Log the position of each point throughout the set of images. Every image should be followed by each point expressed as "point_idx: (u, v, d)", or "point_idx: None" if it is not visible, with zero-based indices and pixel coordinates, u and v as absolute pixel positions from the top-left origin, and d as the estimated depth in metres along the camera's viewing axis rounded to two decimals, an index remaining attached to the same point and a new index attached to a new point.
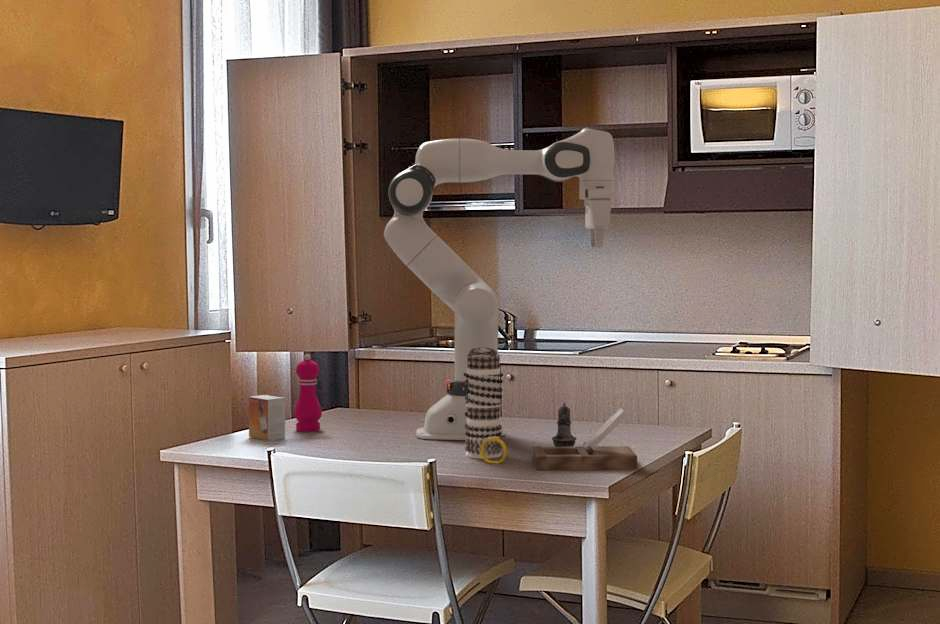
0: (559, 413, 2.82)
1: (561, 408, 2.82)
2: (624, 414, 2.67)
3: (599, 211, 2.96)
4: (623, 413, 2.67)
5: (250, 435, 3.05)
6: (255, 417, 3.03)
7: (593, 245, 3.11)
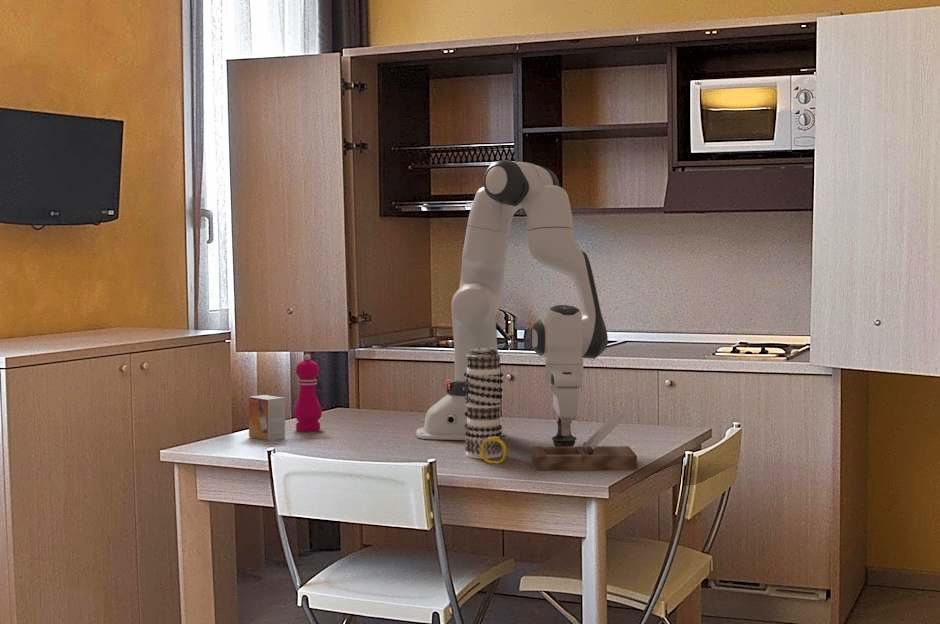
0: None
1: None
2: (624, 414, 2.67)
3: (566, 401, 2.73)
4: (623, 413, 2.67)
5: (250, 435, 3.05)
6: (255, 417, 3.03)
7: None
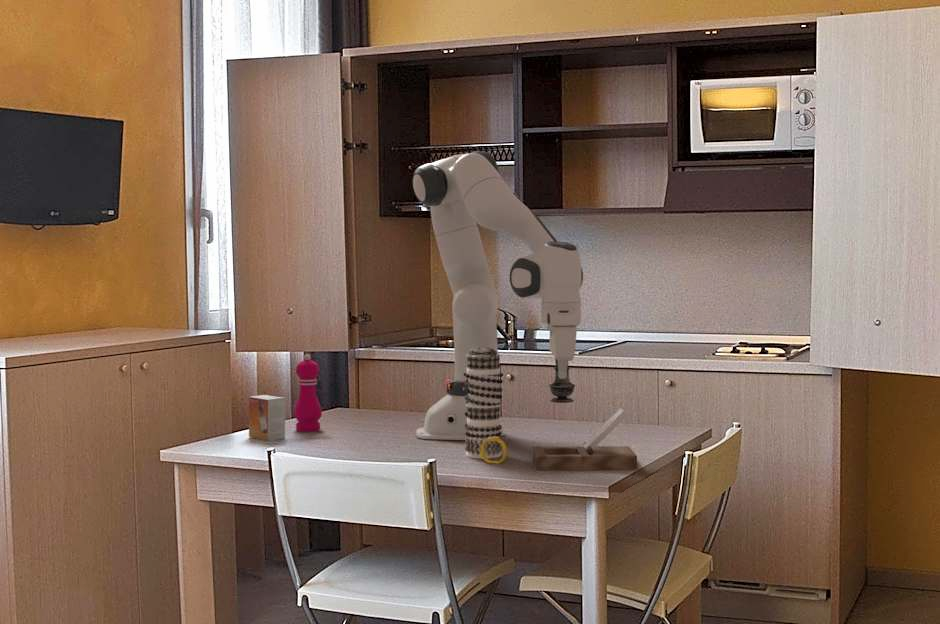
0: None
1: None
2: (624, 414, 2.67)
3: (563, 340, 2.58)
4: (623, 413, 2.67)
5: (250, 435, 3.05)
6: (255, 417, 3.03)
7: None
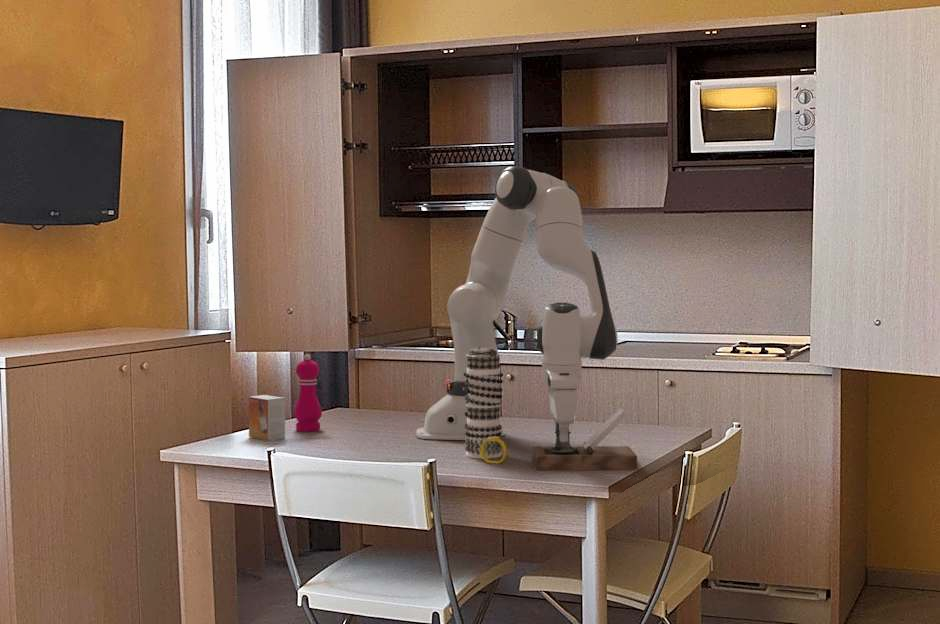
0: (557, 423, 2.67)
1: None
2: (624, 414, 2.67)
3: (563, 404, 2.59)
4: (623, 413, 2.67)
5: (250, 435, 3.05)
6: (255, 417, 3.03)
7: None
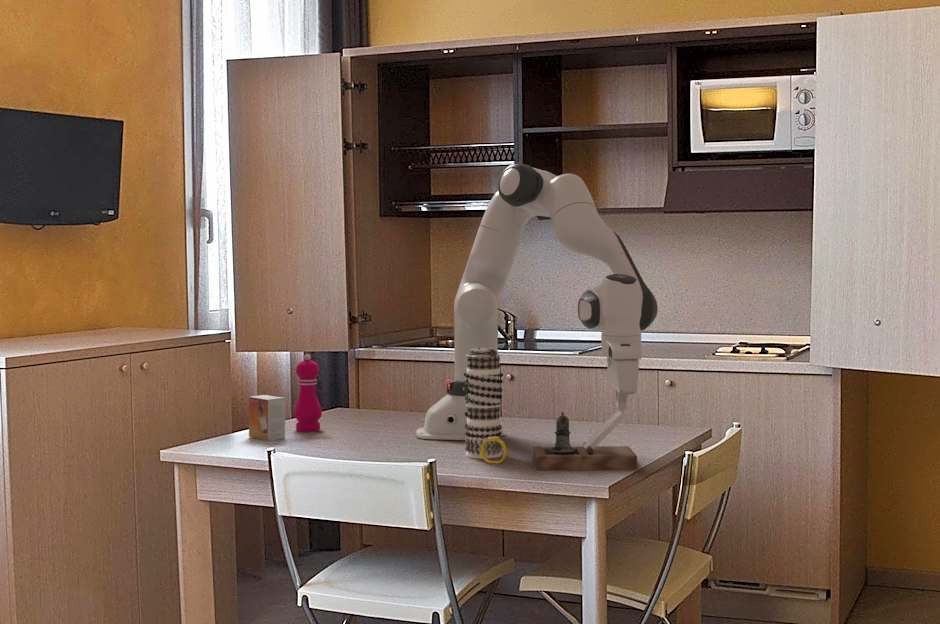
0: (557, 423, 2.68)
1: (559, 418, 2.67)
2: (624, 414, 2.67)
3: (626, 374, 2.59)
4: (623, 413, 2.67)
5: (250, 435, 3.05)
6: (255, 417, 3.03)
7: None
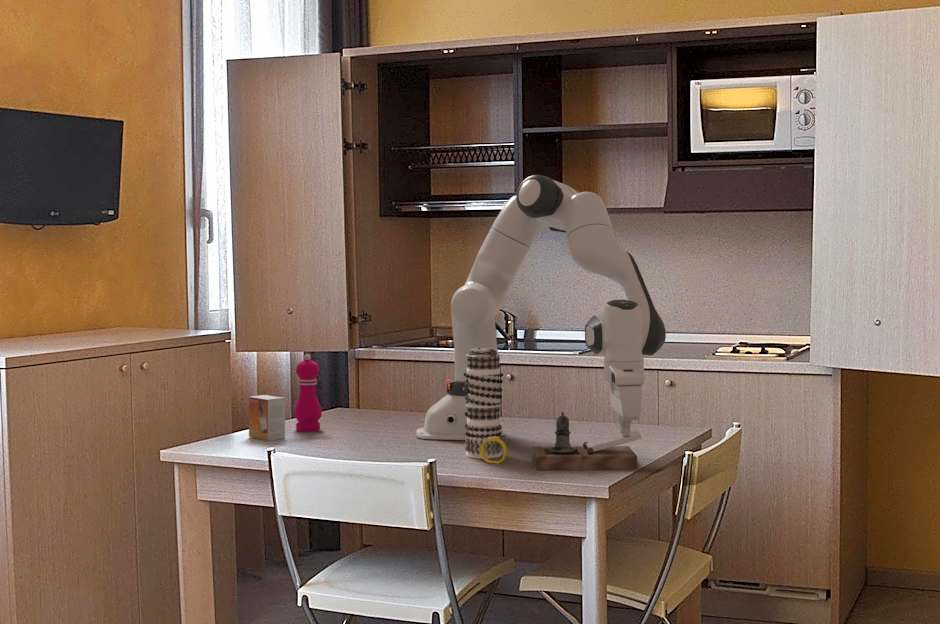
0: (557, 423, 2.68)
1: (559, 418, 2.67)
2: (639, 436, 2.67)
3: (629, 400, 2.59)
4: (638, 435, 2.67)
5: (250, 435, 3.05)
6: (255, 417, 3.03)
7: None
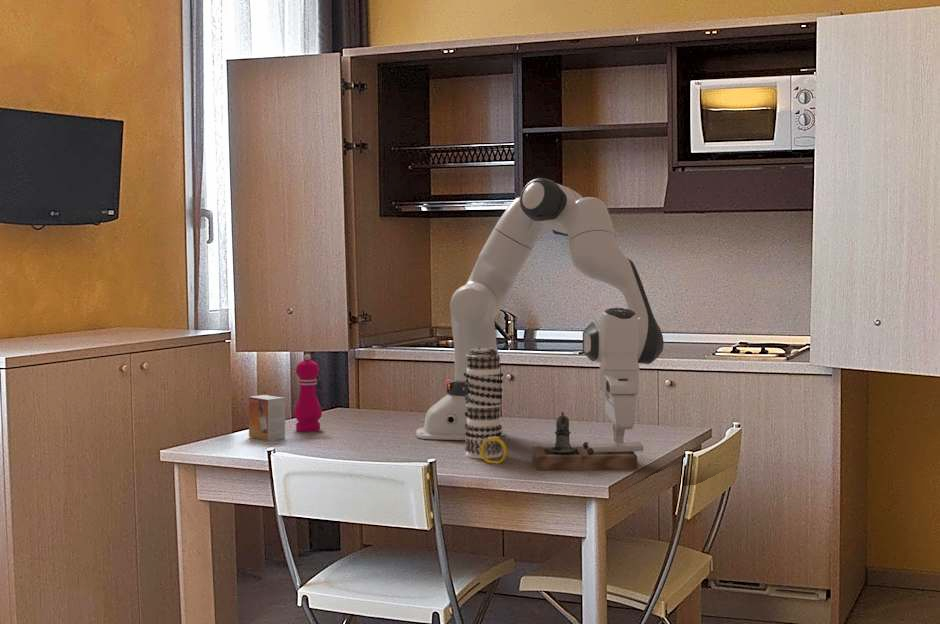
0: (557, 423, 2.68)
1: (559, 418, 2.67)
2: (641, 448, 2.67)
3: (623, 409, 2.59)
4: (641, 447, 2.67)
5: (250, 435, 3.05)
6: (255, 417, 3.03)
7: None
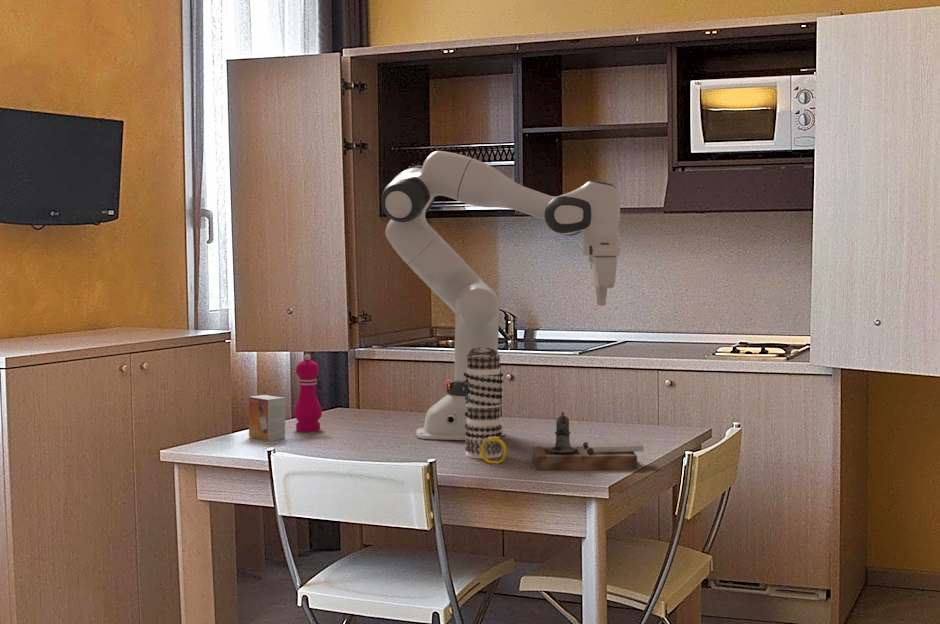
0: (557, 423, 2.68)
1: (559, 418, 2.67)
2: (641, 448, 2.67)
3: (604, 269, 2.82)
4: (641, 447, 2.67)
5: (250, 435, 3.05)
6: (255, 417, 3.03)
7: None
